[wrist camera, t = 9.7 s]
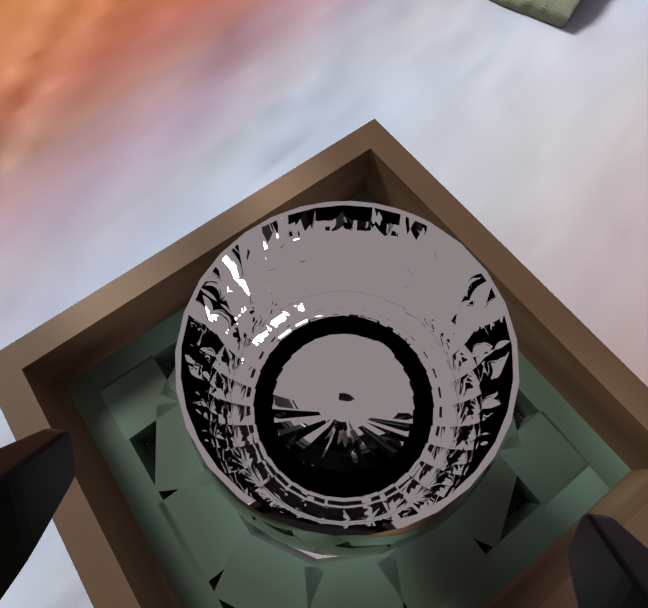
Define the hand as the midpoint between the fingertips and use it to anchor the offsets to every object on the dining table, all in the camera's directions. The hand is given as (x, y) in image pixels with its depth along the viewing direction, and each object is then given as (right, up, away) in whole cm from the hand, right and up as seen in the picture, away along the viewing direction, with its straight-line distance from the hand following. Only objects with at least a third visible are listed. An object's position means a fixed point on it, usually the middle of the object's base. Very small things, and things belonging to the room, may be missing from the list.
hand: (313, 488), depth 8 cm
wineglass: (+1, -2, +9) cm, 10 cm away
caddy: (+1, -2, +9) cm, 10 cm away
